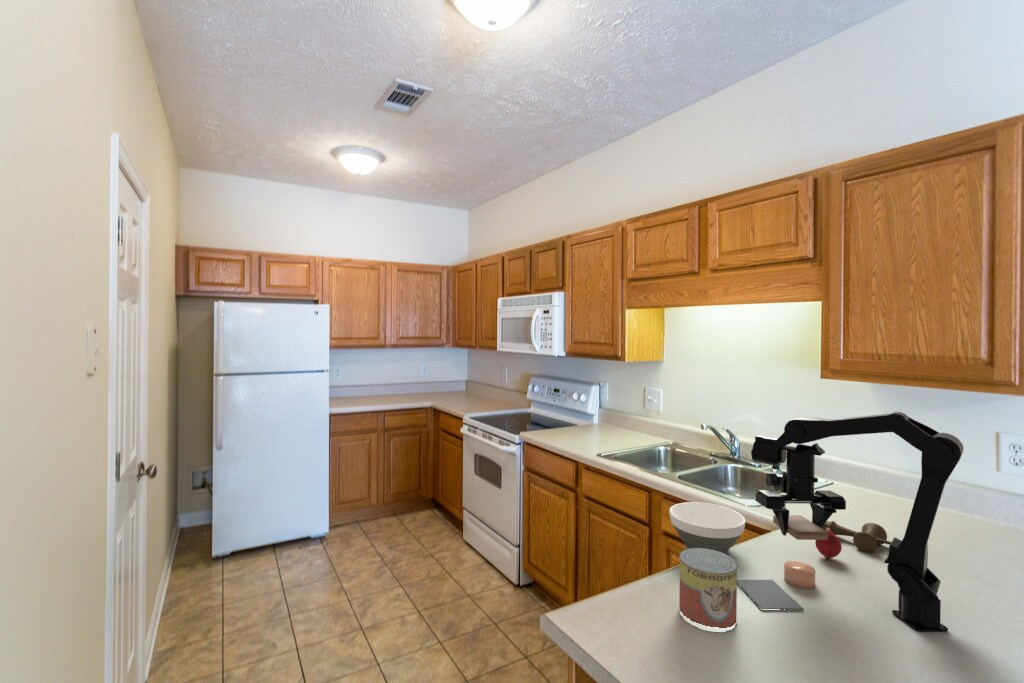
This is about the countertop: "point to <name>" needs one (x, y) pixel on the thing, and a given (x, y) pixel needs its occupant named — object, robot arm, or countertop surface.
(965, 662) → the countertop surface
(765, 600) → the mat
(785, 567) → the peach rounded knob
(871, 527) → the kendama
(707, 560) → the canned food
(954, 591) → the countertop surface
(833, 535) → the onion
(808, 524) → the cover
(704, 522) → the bowl
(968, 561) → the countertop surface
